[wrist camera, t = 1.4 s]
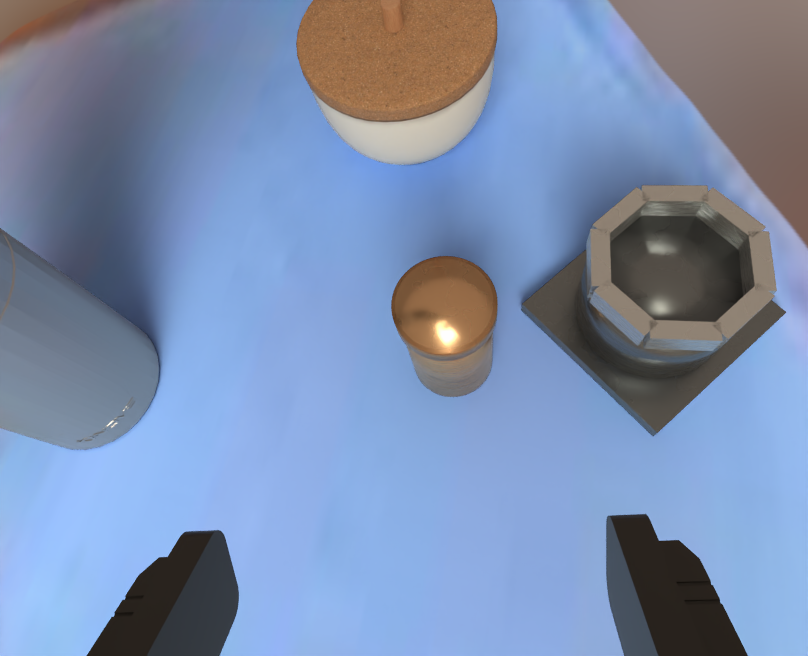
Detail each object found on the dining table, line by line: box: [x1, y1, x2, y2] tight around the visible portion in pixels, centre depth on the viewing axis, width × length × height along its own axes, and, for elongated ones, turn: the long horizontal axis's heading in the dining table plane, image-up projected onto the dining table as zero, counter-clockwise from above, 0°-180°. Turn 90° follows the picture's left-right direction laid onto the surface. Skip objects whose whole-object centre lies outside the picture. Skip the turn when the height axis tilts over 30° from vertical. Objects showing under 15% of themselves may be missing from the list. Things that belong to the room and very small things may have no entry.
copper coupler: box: [391, 256, 497, 397], centre depth 36 cm, size 5×5×9 cm
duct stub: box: [521, 185, 786, 436], centre depth 36 cm, size 11×11×8 cm
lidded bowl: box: [296, 0, 497, 165], centre depth 43 cm, size 13×13×11 cm
